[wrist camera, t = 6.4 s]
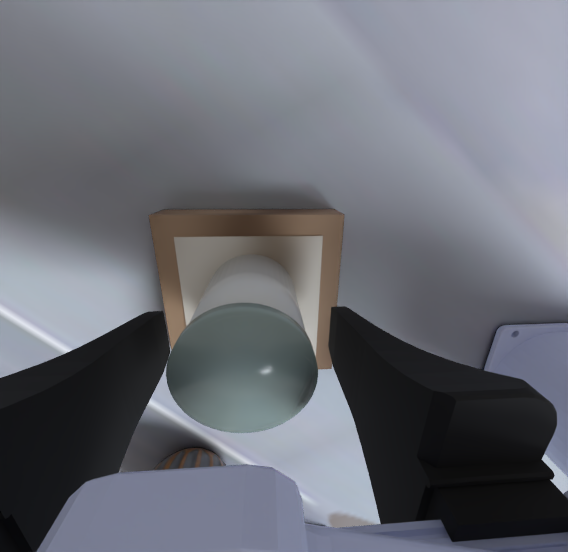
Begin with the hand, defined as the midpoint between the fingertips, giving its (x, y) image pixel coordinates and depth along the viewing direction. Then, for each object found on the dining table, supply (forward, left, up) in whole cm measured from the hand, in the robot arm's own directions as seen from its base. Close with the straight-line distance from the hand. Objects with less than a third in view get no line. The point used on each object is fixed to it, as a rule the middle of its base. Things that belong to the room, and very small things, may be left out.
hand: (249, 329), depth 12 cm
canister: (0, 0, -2) cm, 3 cm away
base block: (0, 0, -5) cm, 5 cm away
